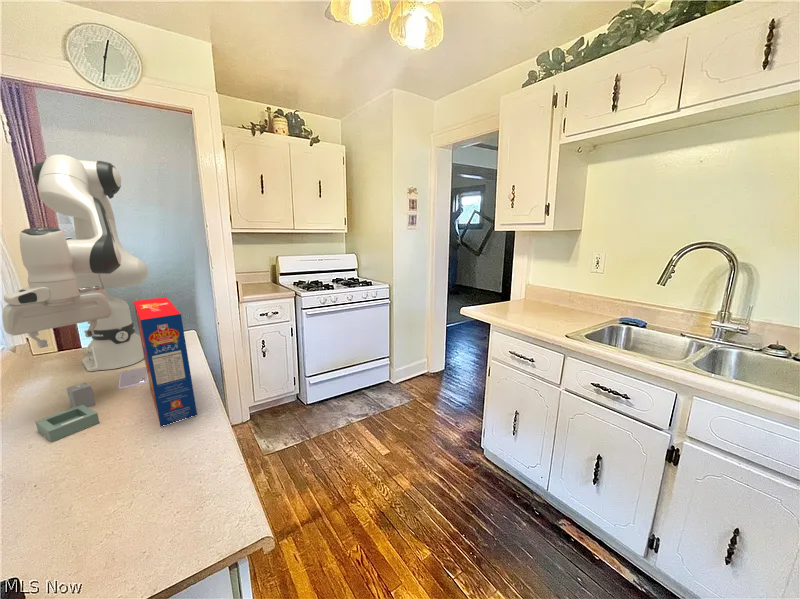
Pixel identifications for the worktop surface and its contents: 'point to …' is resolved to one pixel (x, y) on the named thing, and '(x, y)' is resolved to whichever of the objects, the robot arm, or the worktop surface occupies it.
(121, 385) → the mobile phone
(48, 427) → the green square tray
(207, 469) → the worktop surface
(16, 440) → the worktop surface
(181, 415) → the pasta box
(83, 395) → the block
